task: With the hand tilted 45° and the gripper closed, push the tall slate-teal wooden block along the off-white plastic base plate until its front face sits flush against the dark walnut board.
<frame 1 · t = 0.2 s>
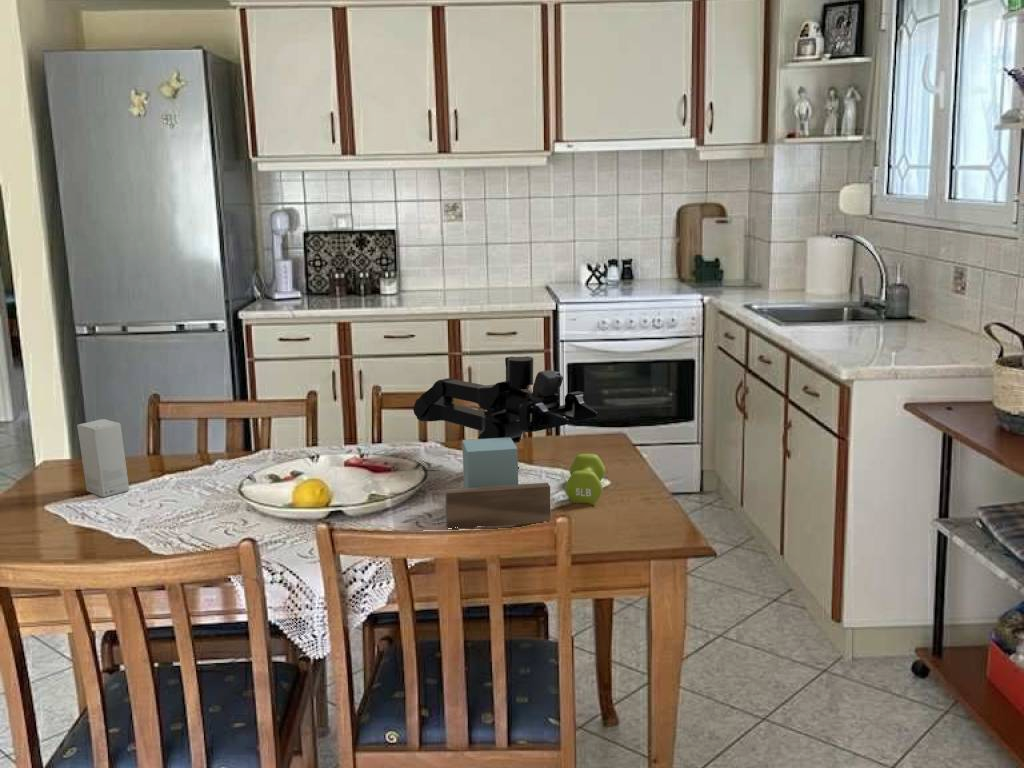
hand: (582, 418, 208), 16 cm above the table, tool horizontal, fingers open, 9 cm apart
skincare box: (106, 492, 219), on the table
block: (491, 505, 202), point 1 cm above the table, touching plate
plate: (491, 511, 201), on the table
dumbbell: (585, 496, 211), on the table
board: (498, 527, 192), on the table
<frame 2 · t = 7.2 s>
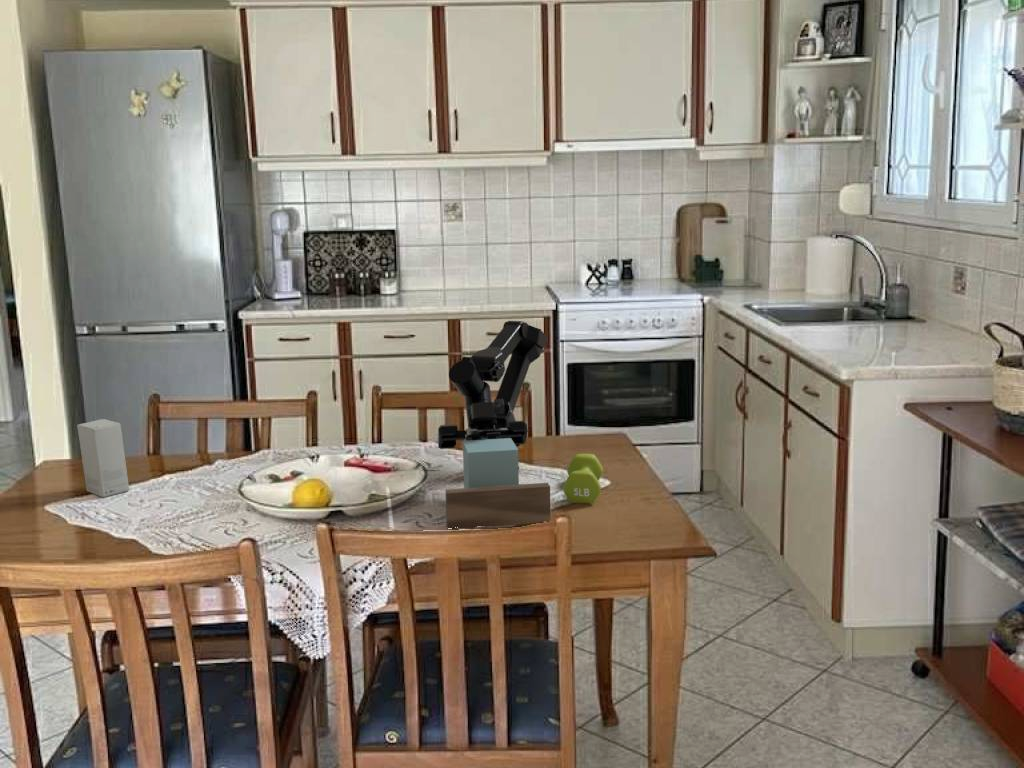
hand: (486, 469, 205), 7 cm above the table, tool tilted 45°, fingers closed, pressing on block
block: (491, 506, 202), point 1 cm above the table, touching gripper, plate
everything else where it was.
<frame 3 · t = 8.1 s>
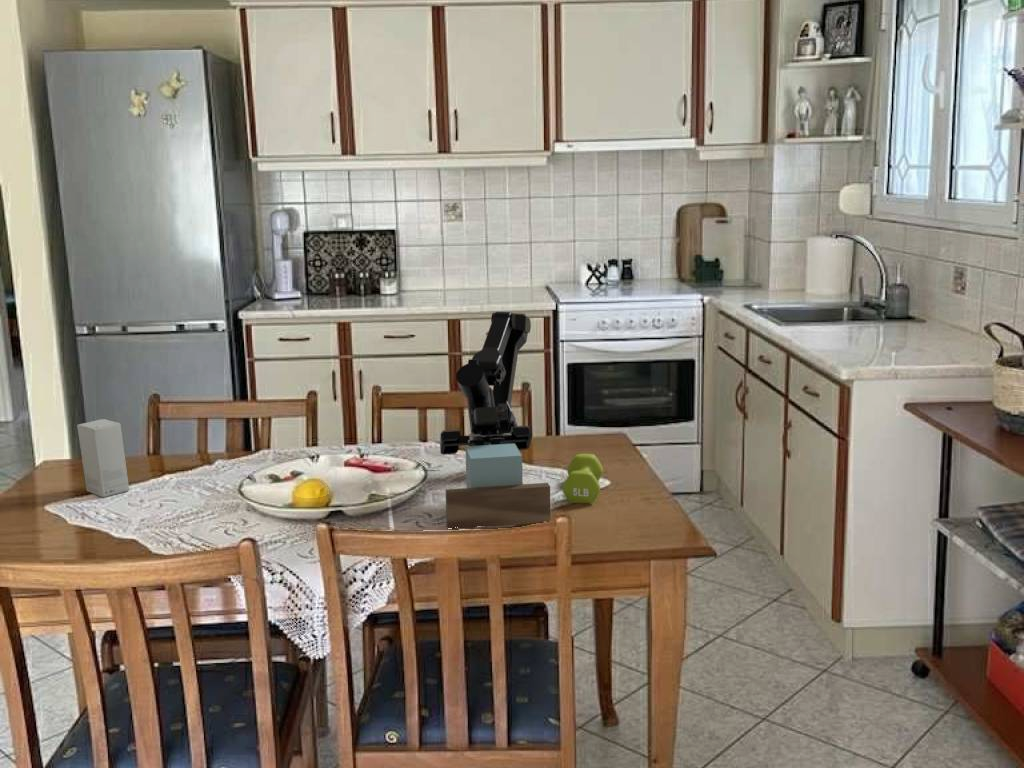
hand: (490, 476, 201), 7 cm above the table, tool tilted 45°, fingers closed, pressing on block
block: (494, 513, 198), point 1 cm above the table, touching board, gripper, plate
everything else where it was.
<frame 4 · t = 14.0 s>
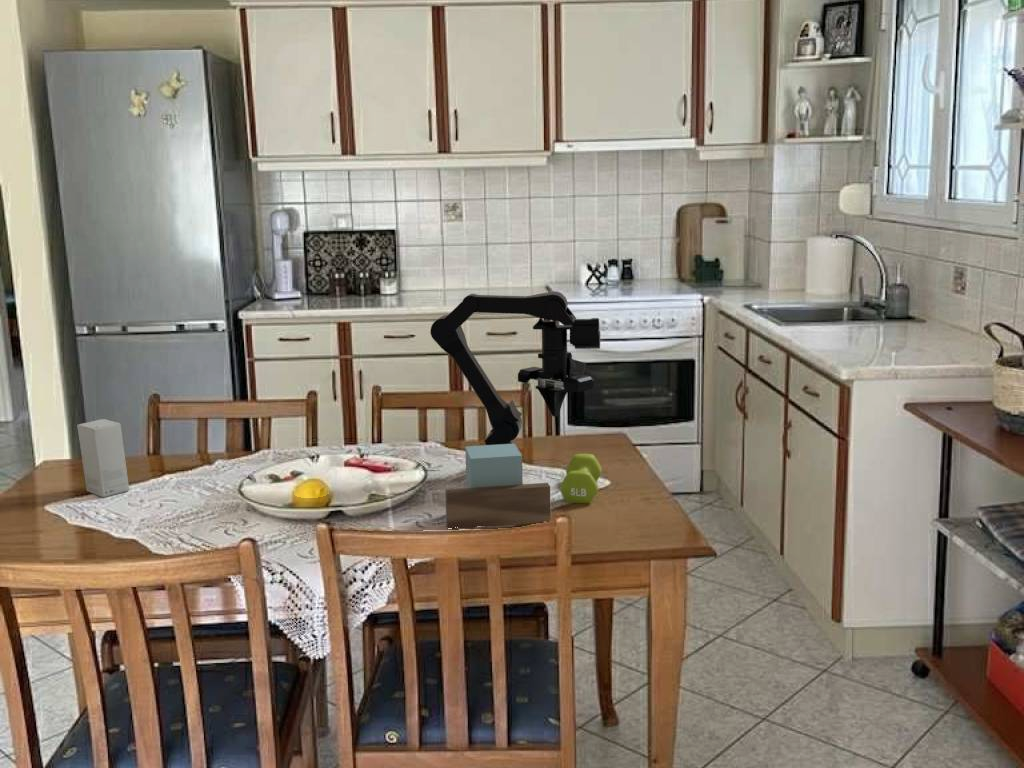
hand: (555, 416, 225), 13 cm above the table, tool pointing down, fingers closed
block: (494, 513, 198), point 1 cm above the table, touching plate
everything else where it was.
at the end: block 5.8 cm from the board (horizontally); block tilted 0° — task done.
